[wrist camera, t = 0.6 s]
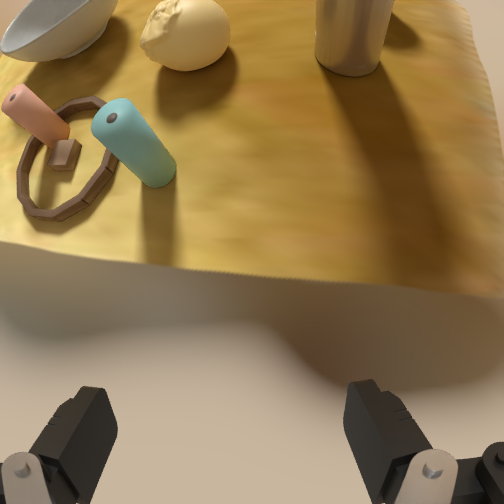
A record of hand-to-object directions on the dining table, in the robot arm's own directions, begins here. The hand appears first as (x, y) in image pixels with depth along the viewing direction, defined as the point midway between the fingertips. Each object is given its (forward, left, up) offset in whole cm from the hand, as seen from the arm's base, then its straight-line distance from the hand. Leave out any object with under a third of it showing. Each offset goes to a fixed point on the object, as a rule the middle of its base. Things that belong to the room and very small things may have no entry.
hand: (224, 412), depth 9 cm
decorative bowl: (-49, -44, -23) cm, 70 cm away
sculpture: (-38, -16, -23) cm, 47 cm away
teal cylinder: (-18, -16, -23) cm, 33 cm away
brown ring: (-20, -32, -23) cm, 44 cm away
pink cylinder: (-24, -36, -23) cm, 49 cm away
